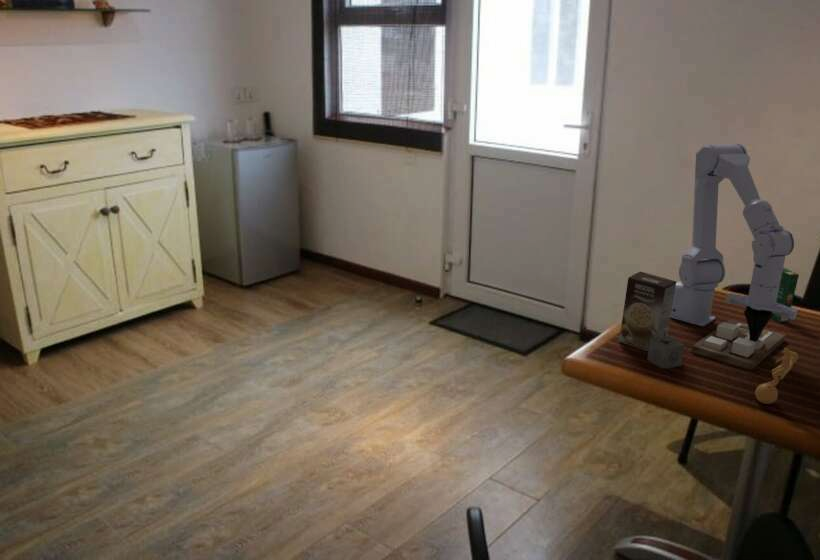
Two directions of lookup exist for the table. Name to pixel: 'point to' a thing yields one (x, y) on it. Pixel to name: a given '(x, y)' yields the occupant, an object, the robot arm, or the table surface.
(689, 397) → the table surface
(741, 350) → the button
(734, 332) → the button
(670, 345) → the grey cube with symbol
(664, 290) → the coffee box
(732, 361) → the board
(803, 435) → the table surface
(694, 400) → the table surface
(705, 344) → the button
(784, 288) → the coffee box
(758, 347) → the button
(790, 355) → the figurine
